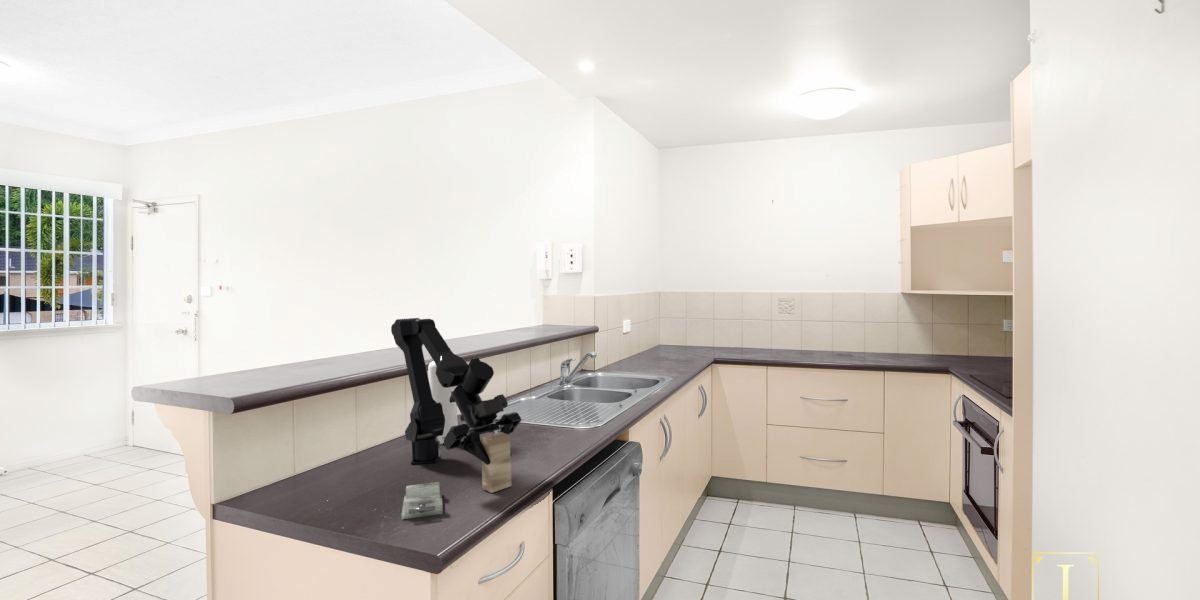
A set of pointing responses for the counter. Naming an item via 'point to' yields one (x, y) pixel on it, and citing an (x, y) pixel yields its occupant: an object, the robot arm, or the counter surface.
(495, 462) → the beech block
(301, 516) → the counter surface
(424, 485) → the frosted green stand
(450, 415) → the bottle
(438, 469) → the counter surface
